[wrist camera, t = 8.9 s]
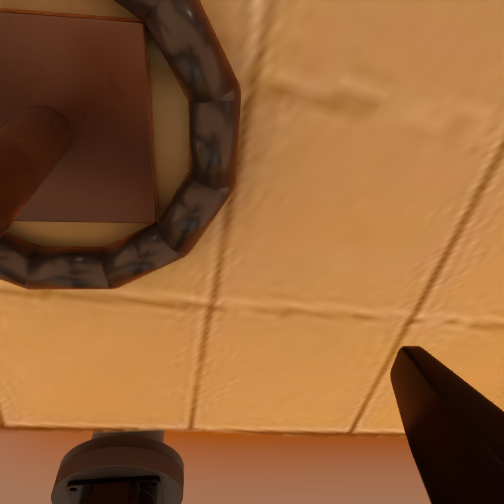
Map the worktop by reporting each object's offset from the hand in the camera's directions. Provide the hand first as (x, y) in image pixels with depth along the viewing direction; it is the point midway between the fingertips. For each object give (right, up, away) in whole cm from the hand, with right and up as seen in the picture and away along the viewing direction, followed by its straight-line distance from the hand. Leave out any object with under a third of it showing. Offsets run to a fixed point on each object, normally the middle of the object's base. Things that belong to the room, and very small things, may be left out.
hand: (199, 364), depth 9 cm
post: (-7, +8, +8) cm, 13 cm away
